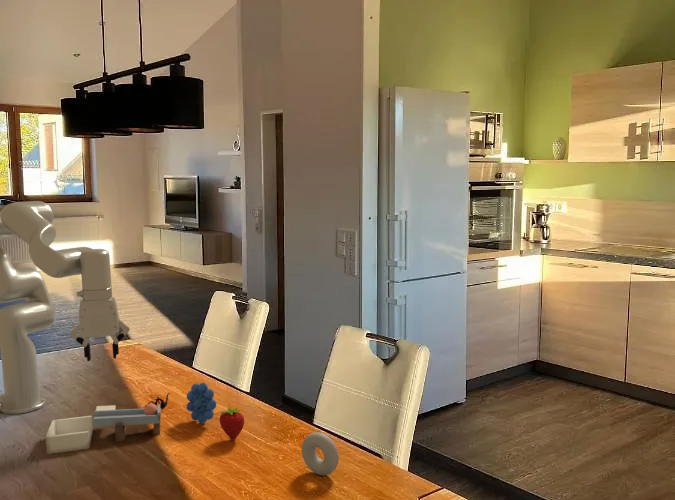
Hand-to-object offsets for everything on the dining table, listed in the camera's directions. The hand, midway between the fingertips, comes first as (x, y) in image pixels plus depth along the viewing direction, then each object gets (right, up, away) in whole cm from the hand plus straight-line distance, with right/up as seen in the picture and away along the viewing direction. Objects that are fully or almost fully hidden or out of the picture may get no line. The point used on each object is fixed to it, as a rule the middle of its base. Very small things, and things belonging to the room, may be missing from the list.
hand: (102, 357), depth 180 cm
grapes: (+28, -19, +3) cm, 34 cm away
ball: (+14, -14, -3) cm, 20 cm away
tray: (-5, -21, -8) cm, 23 cm away
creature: (+11, -18, +13) cm, 25 cm away
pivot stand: (+7, -20, -5) cm, 22 cm away
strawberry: (+38, -20, -9) cm, 44 cm away
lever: (+7, -16, -1) cm, 18 cm away
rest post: (+16, -20, -2) cm, 25 cm away
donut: (+61, -22, -29) cm, 71 cm away
